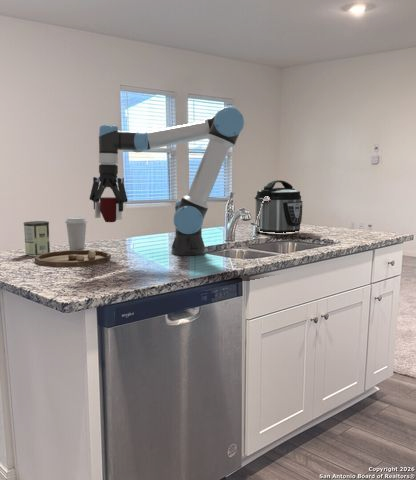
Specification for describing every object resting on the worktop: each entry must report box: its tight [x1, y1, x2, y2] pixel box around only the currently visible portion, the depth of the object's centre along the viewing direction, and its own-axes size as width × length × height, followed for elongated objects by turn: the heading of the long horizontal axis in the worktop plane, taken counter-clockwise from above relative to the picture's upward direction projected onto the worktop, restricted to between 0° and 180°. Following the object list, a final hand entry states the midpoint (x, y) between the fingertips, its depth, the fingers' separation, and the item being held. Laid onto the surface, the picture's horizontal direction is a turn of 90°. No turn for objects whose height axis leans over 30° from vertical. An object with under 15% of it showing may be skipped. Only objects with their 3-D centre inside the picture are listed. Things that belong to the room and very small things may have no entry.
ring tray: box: [34, 249, 112, 268], centre depth 188 cm, size 28×28×3 cm
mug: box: [99, 196, 118, 223], centre depth 196 cm, size 10×8×10 cm
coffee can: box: [23, 220, 51, 257], centre depth 206 cm, size 10×10×14 cm
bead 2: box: [88, 253, 95, 260], centre depth 186 cm, size 3×3×3 cm
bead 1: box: [76, 255, 84, 262], centre depth 182 cm, size 3×3×3 cm
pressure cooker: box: [254, 179, 303, 233], centre depth 286 cm, size 30×28×32 cm
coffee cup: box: [65, 216, 88, 250], centre depth 217 cm, size 10×10×15 cm
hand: (108, 218), depth 197 cm, fingers closed on mug, 10 cm apart
